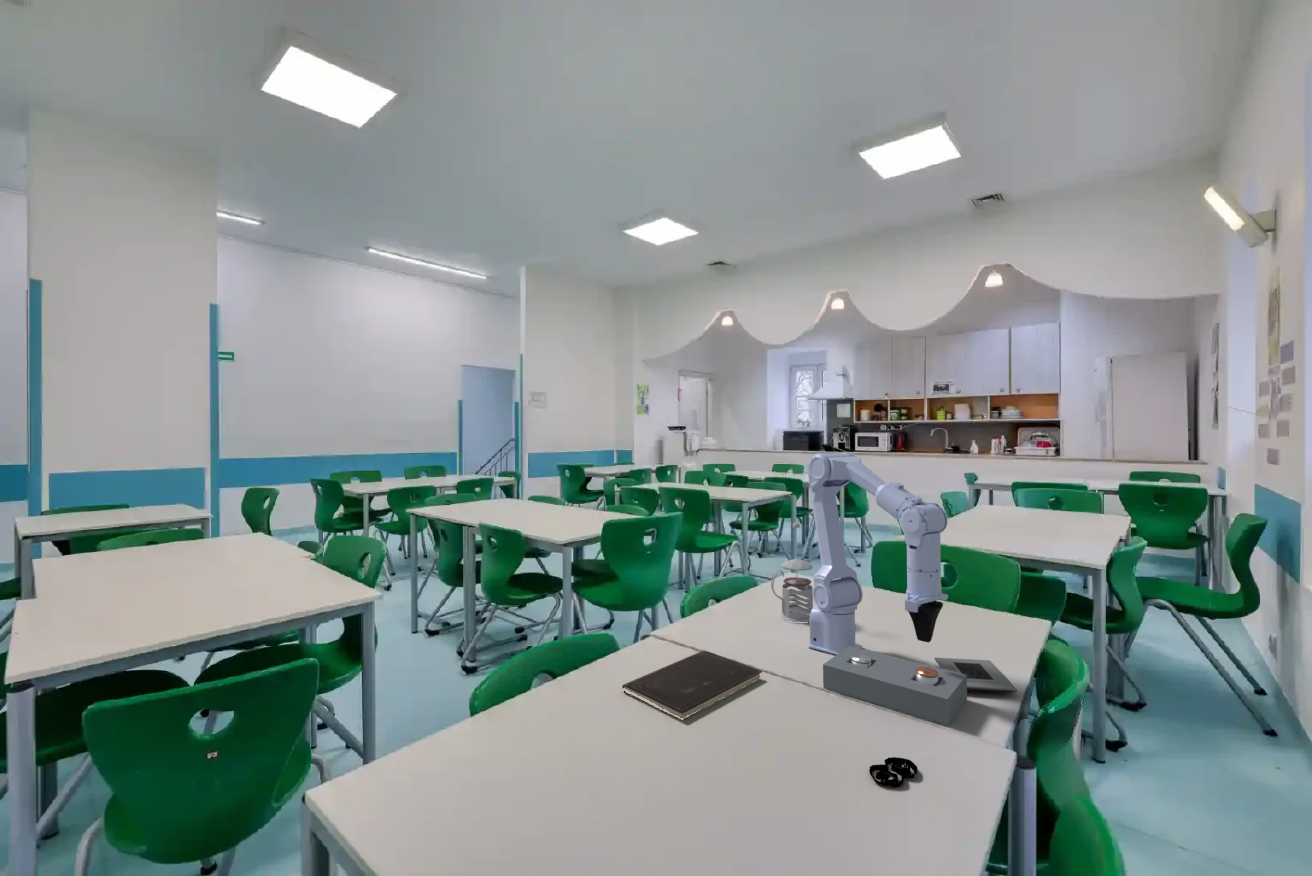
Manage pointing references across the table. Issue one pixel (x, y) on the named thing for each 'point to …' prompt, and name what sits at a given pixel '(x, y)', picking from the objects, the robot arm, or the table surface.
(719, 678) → the hardcover book
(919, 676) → the copper-capped canister
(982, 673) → the electrical outlet
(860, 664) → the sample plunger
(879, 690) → the console
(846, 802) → the table surface
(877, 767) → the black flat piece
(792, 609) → the french press
